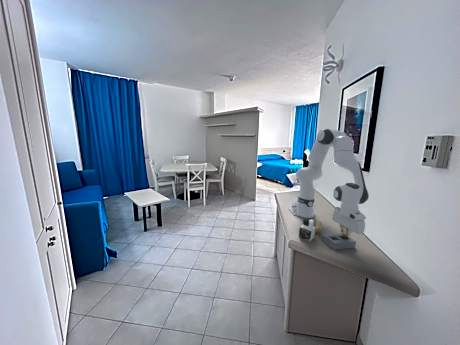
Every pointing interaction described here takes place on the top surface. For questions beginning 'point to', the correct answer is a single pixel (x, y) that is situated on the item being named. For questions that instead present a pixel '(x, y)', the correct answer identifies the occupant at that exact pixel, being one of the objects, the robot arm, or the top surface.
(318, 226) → the pin
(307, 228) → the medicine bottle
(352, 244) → the block
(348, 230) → the pin
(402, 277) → the top surface
